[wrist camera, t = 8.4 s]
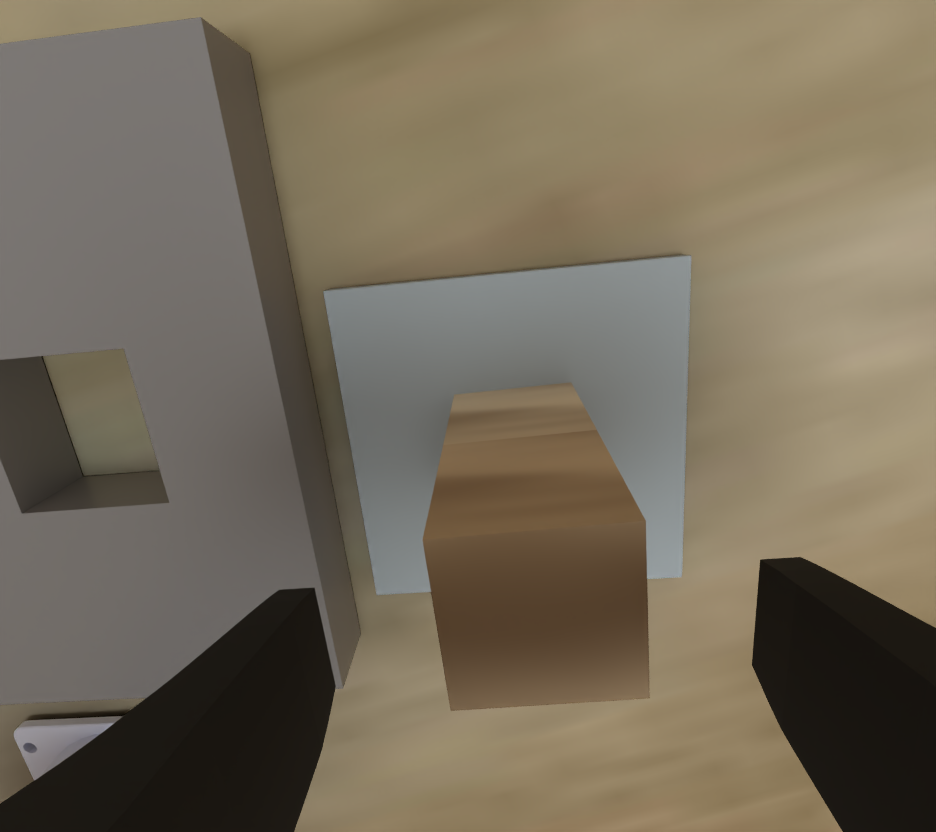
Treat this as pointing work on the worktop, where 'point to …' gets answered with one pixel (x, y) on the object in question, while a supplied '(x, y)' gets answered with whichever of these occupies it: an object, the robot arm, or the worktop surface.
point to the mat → (513, 385)
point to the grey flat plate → (151, 367)
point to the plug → (535, 556)
